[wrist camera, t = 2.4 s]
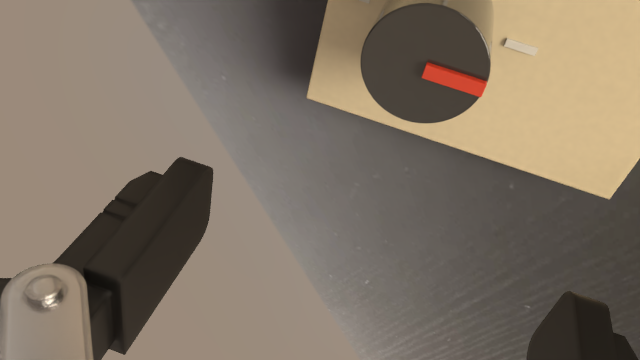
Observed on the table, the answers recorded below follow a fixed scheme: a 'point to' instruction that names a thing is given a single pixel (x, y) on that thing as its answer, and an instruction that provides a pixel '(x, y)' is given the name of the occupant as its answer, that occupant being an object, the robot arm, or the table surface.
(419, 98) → the knob
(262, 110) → the table surface
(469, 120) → the panel
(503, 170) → the table surface
